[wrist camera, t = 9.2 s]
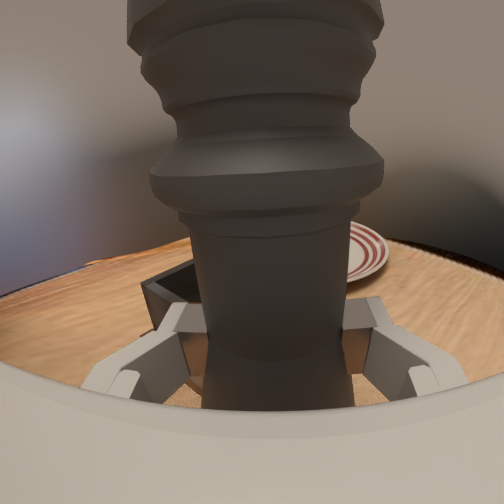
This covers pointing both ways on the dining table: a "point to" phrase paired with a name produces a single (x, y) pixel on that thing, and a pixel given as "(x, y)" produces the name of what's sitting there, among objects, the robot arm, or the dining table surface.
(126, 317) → the dining table surface
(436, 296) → the dining table surface
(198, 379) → the dark square box
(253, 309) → the candle holder
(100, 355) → the dining table surface
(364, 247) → the dinner plate
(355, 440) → the robot arm
